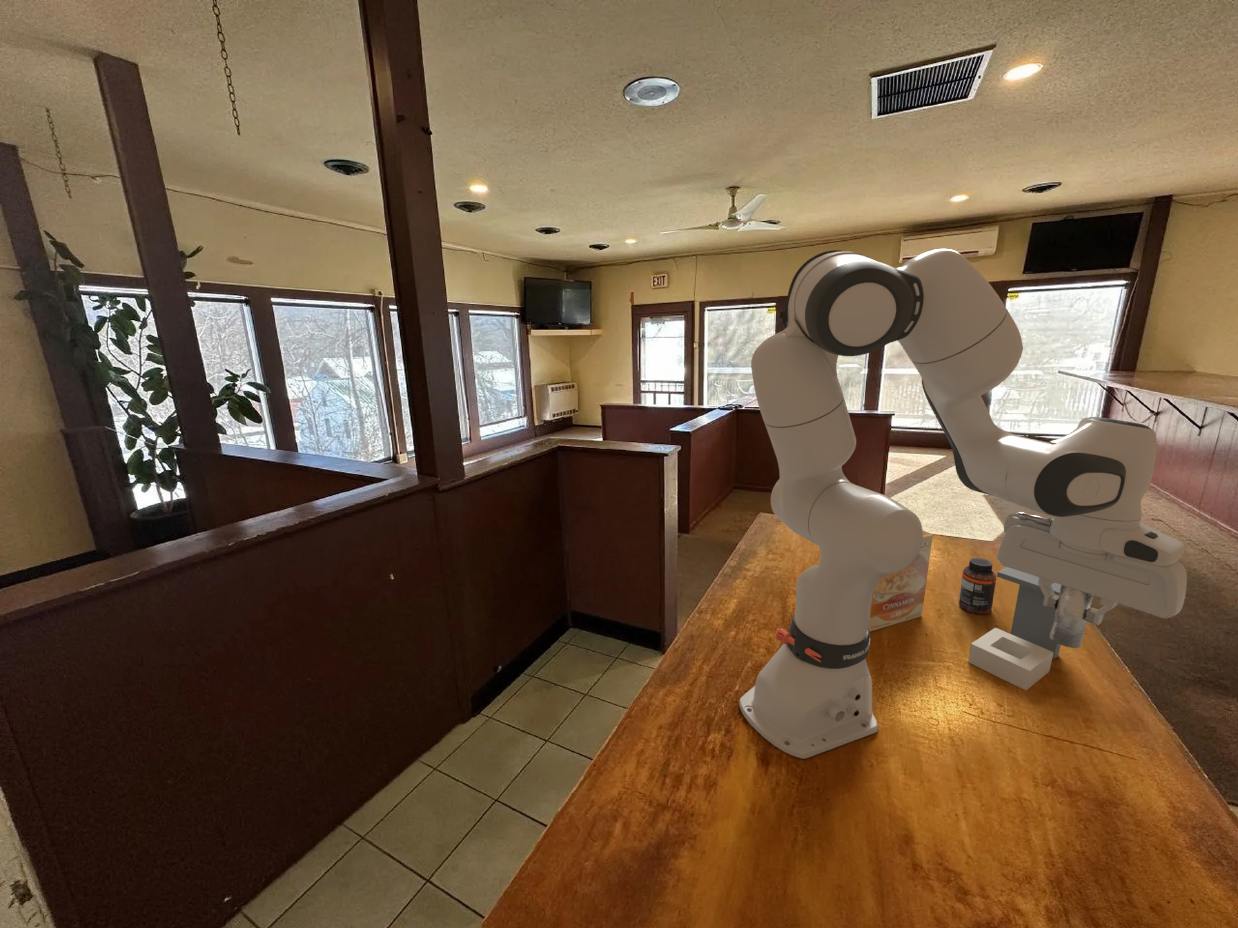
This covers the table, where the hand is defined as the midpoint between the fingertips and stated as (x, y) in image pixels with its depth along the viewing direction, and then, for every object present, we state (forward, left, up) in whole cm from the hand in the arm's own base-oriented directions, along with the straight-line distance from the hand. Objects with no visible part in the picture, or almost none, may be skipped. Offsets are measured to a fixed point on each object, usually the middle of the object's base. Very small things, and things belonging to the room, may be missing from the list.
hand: (1071, 613), depth 73 cm
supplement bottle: (+23, +22, -18) cm, 37 cm away
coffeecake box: (+4, +31, -18) cm, 36 cm away
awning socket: (+11, +9, -18) cm, 23 cm away
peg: (0, 0, -5) cm, 5 cm away
